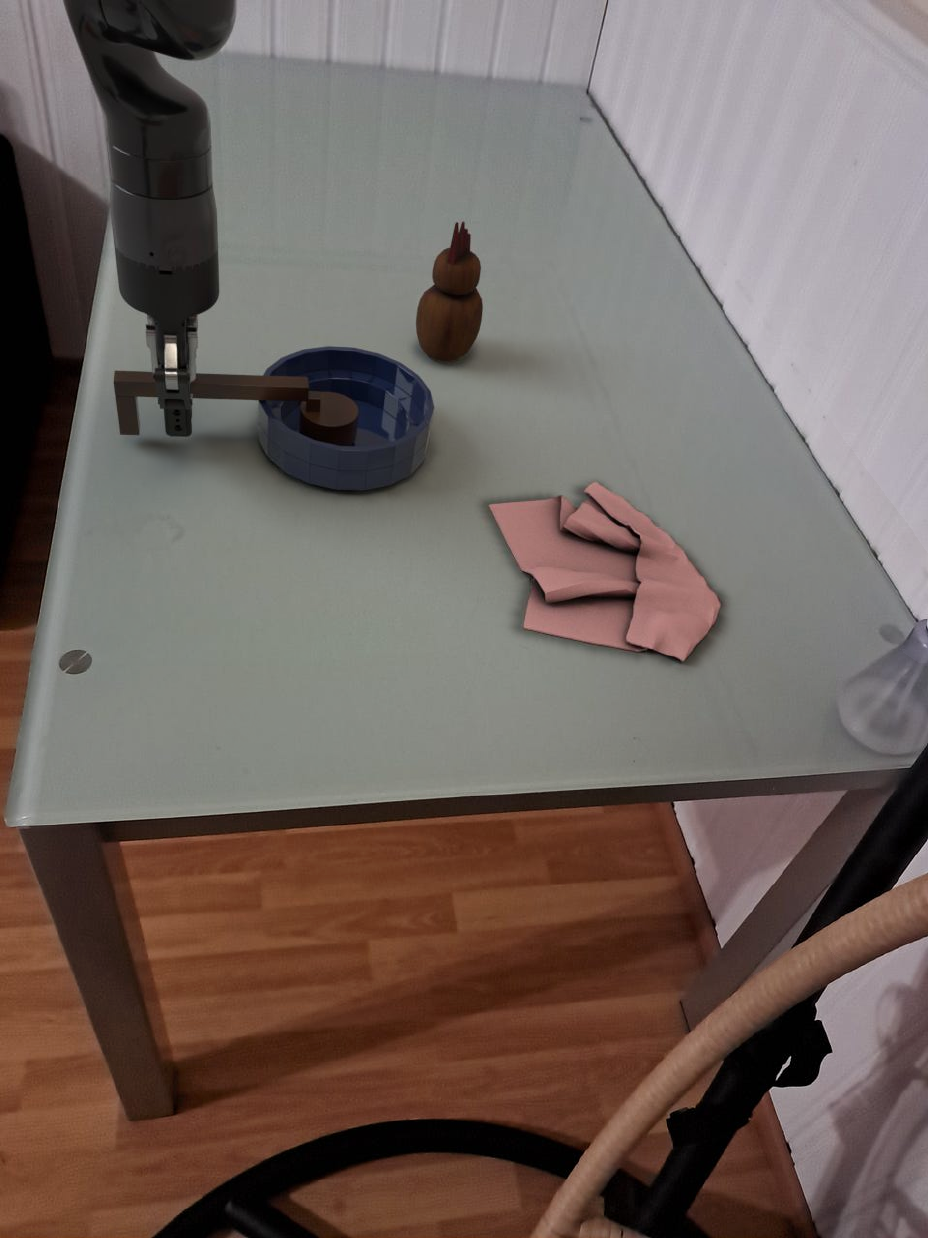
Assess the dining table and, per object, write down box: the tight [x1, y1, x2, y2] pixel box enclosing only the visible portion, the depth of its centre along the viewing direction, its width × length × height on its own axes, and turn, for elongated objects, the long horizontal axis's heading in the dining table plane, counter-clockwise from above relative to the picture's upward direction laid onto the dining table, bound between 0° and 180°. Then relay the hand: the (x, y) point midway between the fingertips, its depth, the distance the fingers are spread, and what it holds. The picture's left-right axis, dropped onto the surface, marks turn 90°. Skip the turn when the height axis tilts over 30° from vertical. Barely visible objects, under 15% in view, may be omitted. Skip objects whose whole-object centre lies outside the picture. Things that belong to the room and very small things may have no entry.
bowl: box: [257, 345, 435, 491], centre depth 87 cm, size 16×16×5 cm
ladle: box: [113, 370, 359, 446], centre depth 84 cm, size 21×5×6 cm, turn 100°
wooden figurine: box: [415, 221, 484, 363], centre depth 96 cm, size 7×6×15 cm
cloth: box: [488, 481, 722, 663], centre depth 82 cm, size 20×22×2 cm
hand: (179, 425), depth 84 cm, fingers closed on ladle
